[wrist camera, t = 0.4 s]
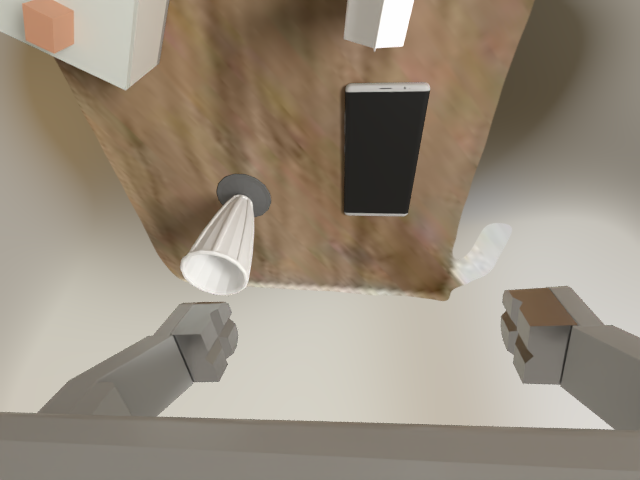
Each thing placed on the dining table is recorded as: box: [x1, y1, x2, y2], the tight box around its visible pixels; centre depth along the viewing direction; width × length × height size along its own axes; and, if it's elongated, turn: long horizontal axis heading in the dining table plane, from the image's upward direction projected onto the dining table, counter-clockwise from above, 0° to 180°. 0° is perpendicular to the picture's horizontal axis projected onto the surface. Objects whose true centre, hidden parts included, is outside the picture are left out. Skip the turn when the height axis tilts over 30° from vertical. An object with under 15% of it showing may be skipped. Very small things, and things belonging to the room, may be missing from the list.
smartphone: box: [344, 82, 430, 216], centre depth 64 cm, size 13×27×2 cm, turn 2°
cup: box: [180, 174, 271, 295], centre depth 65 cm, size 12×12×22 cm
